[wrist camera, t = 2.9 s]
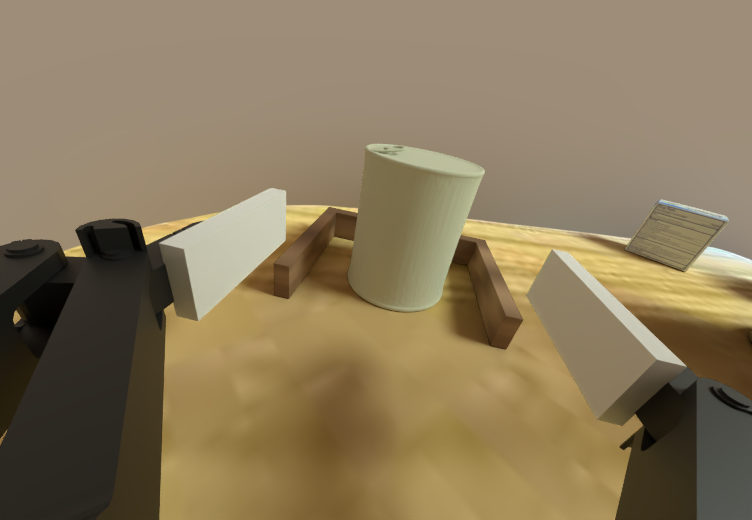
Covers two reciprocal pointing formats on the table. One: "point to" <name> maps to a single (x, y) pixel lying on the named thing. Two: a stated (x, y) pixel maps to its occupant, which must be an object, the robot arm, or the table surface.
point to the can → (409, 224)
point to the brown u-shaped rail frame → (470, 251)
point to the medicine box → (676, 234)
